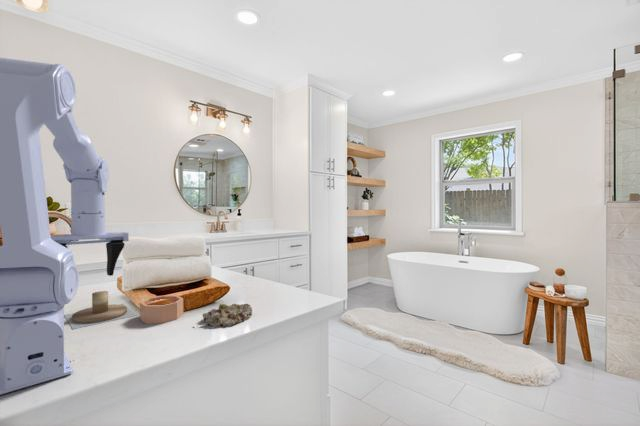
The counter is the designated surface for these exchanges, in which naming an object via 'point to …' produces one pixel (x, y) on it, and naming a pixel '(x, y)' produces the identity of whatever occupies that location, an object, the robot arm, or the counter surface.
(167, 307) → the bowl
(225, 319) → the mineral rock
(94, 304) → the lid
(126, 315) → the mat
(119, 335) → the counter surface
